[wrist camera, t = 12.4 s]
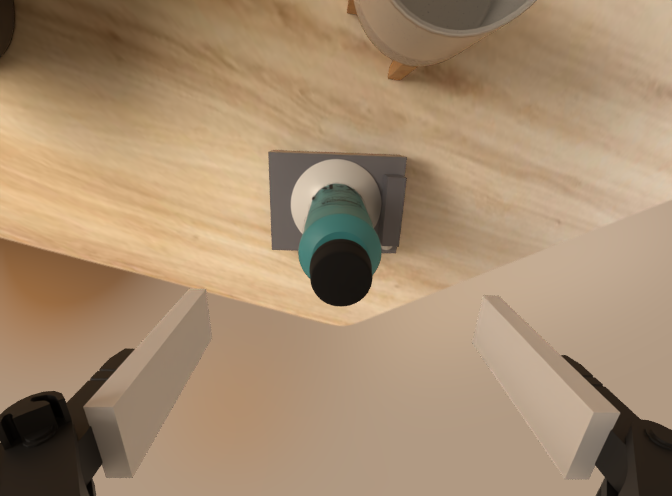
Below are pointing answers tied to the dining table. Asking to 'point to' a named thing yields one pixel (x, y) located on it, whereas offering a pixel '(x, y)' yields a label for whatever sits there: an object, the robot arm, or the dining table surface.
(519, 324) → the robot arm
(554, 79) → the dining table surface
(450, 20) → the planter
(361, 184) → the domed button base
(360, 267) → the beverage bottle
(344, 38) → the dining table surface
